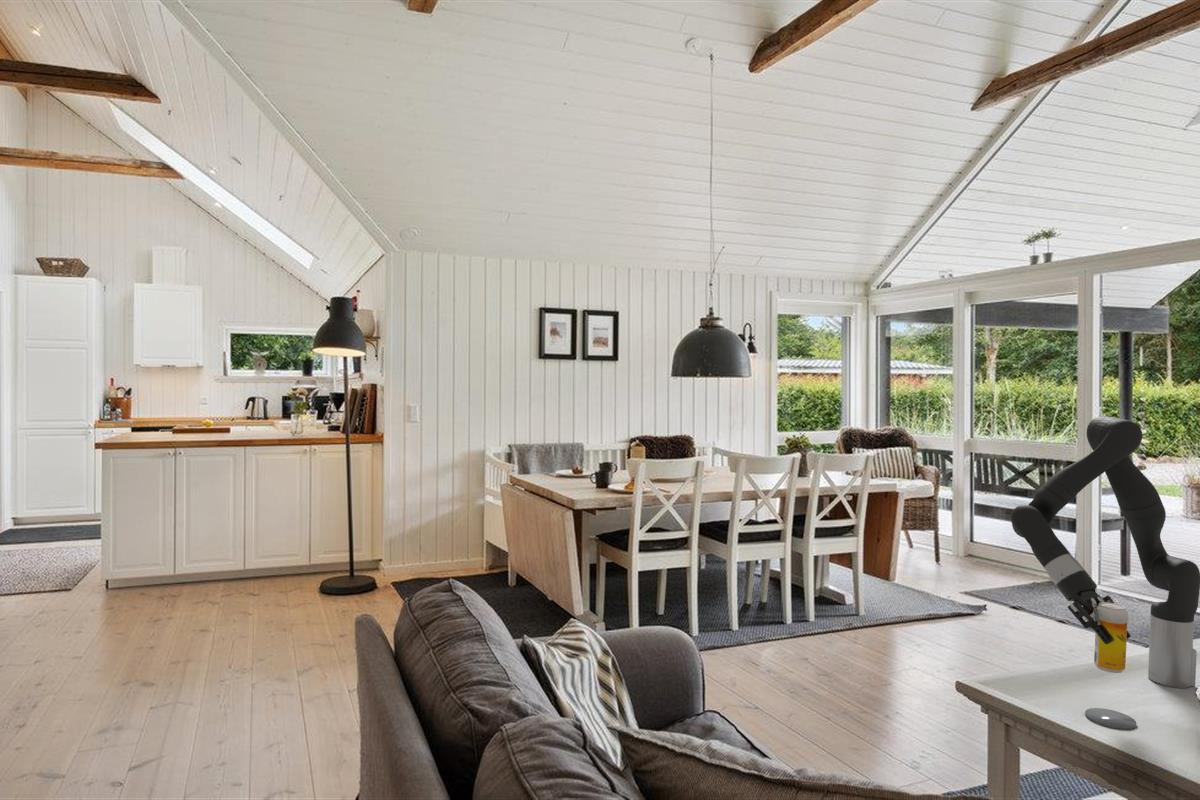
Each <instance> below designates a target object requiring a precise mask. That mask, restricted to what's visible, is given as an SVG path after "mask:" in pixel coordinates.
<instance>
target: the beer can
mask: <svg viewBox="0 0 1200 800" xmlns="http://www.w3.org/2000/svg"><path fill="white" fill-rule="evenodd" d="M1097 611H1098V614H1099V619H1100V621H1101V623H1102V625H1103V626H1104V627H1105V628H1106V629H1107V631H1108V632H1109V633H1110V634H1111V636H1112V637H1113V638H1114V641H1112V642H1111V643H1109V644H1105V643H1104V642H1103V641H1102V640H1101V638H1100V637H1099V636H1098V634H1097V633H1096V632H1095V631H1094V633H1095V635H1094V636H1095V637H1094V652H1093V653H1094V654H1093V655H1094V656H1093V657H1094V659H1093V663H1094V664H1095V667H1096V668H1097V669H1099V670H1101V671H1104V672H1107V673H1112V674H1120V673H1123V671H1125V670H1126V659H1127V631H1128V617H1129V614H1128V613H1129V612H1128V609H1127V607H1126V606H1125V605H1122V604H1119V603H1115V602H1114V603H1109V602H1101V603H1099V605H1098V606H1097ZM1102 625H1101V626H1102Z"/></svg>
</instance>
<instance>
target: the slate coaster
mask: <svg viewBox="0 0 1200 800" xmlns="http://www.w3.org/2000/svg"><path fill="white" fill-rule="evenodd" d="M1084 716H1085V717H1086V719H1088V720H1089V721H1091V722H1093V723H1095V724H1097V725H1100V726H1103V727H1107V728H1109V727H1110V729H1115V730H1121V731H1122V730H1124V731H1126V730H1128V731H1129V730H1134V729H1135V728H1136V727H1137V721H1136V719H1134V718H1133V717H1131V716H1130V715H1128V714H1125V713H1123V712H1120V711H1117V710H1113V709H1109V708H1101V707H1091V708H1090V707H1089V708H1087V709H1086V710H1084Z"/></svg>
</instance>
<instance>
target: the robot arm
mask: <svg viewBox="0 0 1200 800" xmlns="http://www.w3.org/2000/svg"><path fill="white" fill-rule="evenodd" d="M1086 439H1087V441H1088V444H1089V446H1090V448H1091V450H1092V451H1091V452H1089V453H1088V454H1087V455H1086V456H1084V457H1083V458H1081V459H1079V460H1077V461H1076V462H1073V463H1072V464H1069V465H1068V466H1066V467H1063V468H1062V469H1060V470H1058V471H1057V472H1055V473H1054V474H1053V475H1052V476H1050V477H1049V479H1047V481H1045V483H1043V485H1042V486H1040V487H1039V488H1038V489H1037V491H1036V492H1035V493H1034V497H1033V499H1032V500H1031V501H1030V502H1029V503H1028V504H1020V505H1017V506H1015V507H1014V509H1012V511H1011V515H1010V521H1011V522H1010V523H1011V526H1012V530H1013V531H1014V533H1016V535H1018V536H1019V537H1021V538H1024V540H1025V541H1026V542H1027V544H1029V546H1030V548H1031V551H1032V553H1033V555H1034V556H1035V558H1036V559H1037V560H1038V562H1039V564H1040V565H1041V566H1042V567H1043V569H1044V570H1045V572H1046V573H1047V575H1048V576H1049V578H1050V580H1051V581H1052V582H1053V584H1054V585H1055V587H1056V588H1057V589H1058V590H1059V592H1060V593H1061V595H1062V596H1063V597H1064V598H1065V600H1066V601H1068V602H1072V603H1071V604H1069V605H1068V606H1067V609H1068V610H1069V611H1070V612H1071V613H1072V614H1073V616H1074V617H1075V618H1076V619H1077V620H1078V621H1079V623H1080V624H1081V625H1082V626H1083V628H1084V629H1090V630H1092V631H1094V633H1095V632H1096V633H1097V634H1098V636H1099V637H1100V638H1101V640H1102V641H1103V642H1104V643H1105V644H1109V643H1111V642H1112V641H1114V638H1113V637H1112V636H1111V634H1110V633H1109V632H1108V631H1107V629H1106V628H1105V627H1104V626H1103V625H1102V623H1101V621H1100V619H1099V614H1098V611H1097V606H1098V605H1099V603H1101V602H1109V603H1115V602H1114V600H1113V598H1112V597H1111V596H1110V595H1108V594H1107V595H1105V596H1103V597H1102V596H1101V595H1100V594H1098V593H1097V592H1096V589H1097V587H1098V585H1097V583H1096V582H1095V581H1094V580H1093V578H1092V577H1091V576H1090V575H1089V573H1088V572H1087V571H1086V569H1085V568H1084V567H1083V566H1082V564H1080V562H1079V561H1078V560H1077V559H1076V558H1075V557H1074V556H1073V555H1072V553H1071V552H1070V551H1069V550H1068V549H1067V547H1066V546H1065V545H1064V544H1063V542H1062V541H1061V540H1060V539H1059V538H1058V537H1057V535H1056V534H1055V532H1054V530H1053V529H1052V527H1051V526H1050V523H1051V522H1052V521H1053V520H1054V518H1055V517H1056V515H1057V514H1058V513H1059V512H1060V511H1061V510H1062V509H1063V508H1065V507H1066V506H1067V505H1068V504H1069V503H1070V502H1071V501H1072V500H1073V499H1074V498H1075V497H1076V496H1077V495H1078V494H1079V493H1080V492H1081V491H1082V490H1084V488H1085V487H1087V486H1088V485H1089V484H1090V483H1091V482H1094V480H1096V479H1097V478H1098V477H1100V476H1102V474H1104V473H1105V474H1106V478H1107V480H1108V482H1109V484H1110V487H1111V489H1112V492H1113V493H1114V496H1115V499H1116V501H1117V505H1118V506H1119V508H1120V511H1121V513H1122V517H1123V518H1124V520H1125V521H1126V524H1127V526H1128V530H1129V531H1130V534H1131V537H1132V540H1133V541H1134V545H1135V548H1136V551H1137V553H1138V554H1137V555H1138V558H1139V561H1140V565H1141V568H1142V571H1143V573H1144V577H1145V579H1146V581H1147V582H1148V583H1149V584H1150V585H1151V586H1153V587H1155V588H1157V589H1159V590H1164V591H1167V592H1168V594H1167V595H1168V596H1167V599H1166V601H1157V602H1153V603H1151V605H1150V621H1149V622H1150V623H1149V645H1148V646H1149V647H1148V648H1149V649H1148V667H1147V669H1148V670H1147V672H1148V673H1147V678H1148V677H1149V678H1150V679H1151V680H1150V679H1149V678H1148V679H1149V680H1150V681H1152V680H1153V681H1152V682H1154V681H1155V682H1154V683H1156V682H1157V683H1156V684H1159V683H1160V685H1162V686H1166V687H1171V688H1176V689H1177V688H1179V689H1180V688H1181V689H1186V688H1191V687H1196V677H1197V675H1196V674H1197V656H1198V655H1197V650H1196V649H1194V625H1195V615H1196V612H1197V611H1198V608H1199V598H1200V568H1199V567H1198V564H1196V563H1195V562H1193V561H1191V560H1188V559H1185V558H1181V557H1176V556H1172V555H1169V553H1167V551H1166V549H1165V547H1164V544H1163V542H1162V539H1161V533H1162V531H1163V528H1164V526H1165V521H1166V517H1167V515H1166V514H1167V513H1166V508H1165V506H1164V504H1163V502H1162V499H1161V497H1160V495H1159V492H1158V491H1157V489H1156V487H1155V485H1153V483H1152V481H1150V480H1149V479H1148V477H1147V476H1146V475H1145V474H1144V473H1143V472H1142V471H1141V470H1140V469H1139V468H1138V467H1137V465H1136V464H1135V463H1134V462H1133V461H1132V459H1131V457H1130V455H1131V454H1132V453H1134V452H1135V451H1136V450H1137V449H1138V448H1139V447H1140V445H1141V443H1142V440H1143V430H1142V429H1141V427H1140V426H1139V425H1138V424H1137V423H1136V422H1134V421H1132V420H1129V419H1125V418H1119V417H1112V416H1107V415H1106V416H1103V415H1102V416H1096V417H1095V418H1093V419H1091V421H1090V422H1089V423H1088V425H1087V428H1086ZM1101 625H1102V626H1101ZM1131 637H1132V636H1131V634H1130V632H1129V631H1128V630H1127V639H1130V638H1131Z"/></svg>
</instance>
